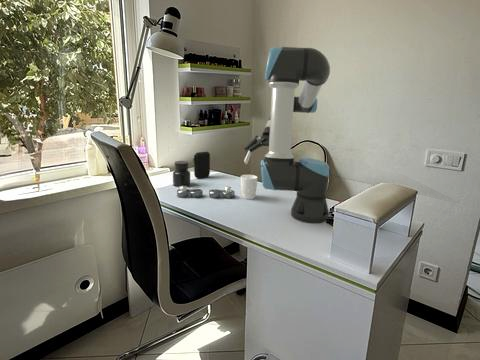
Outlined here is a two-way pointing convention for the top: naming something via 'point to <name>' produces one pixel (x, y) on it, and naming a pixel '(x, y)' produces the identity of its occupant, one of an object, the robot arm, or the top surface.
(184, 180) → the ink bottle
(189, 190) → the chain end left
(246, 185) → the white cup
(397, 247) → the top surface
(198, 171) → the black rounded slab
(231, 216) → the top surface
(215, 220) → the top surface
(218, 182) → the top surface
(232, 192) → the chain end right
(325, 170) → the robot arm
